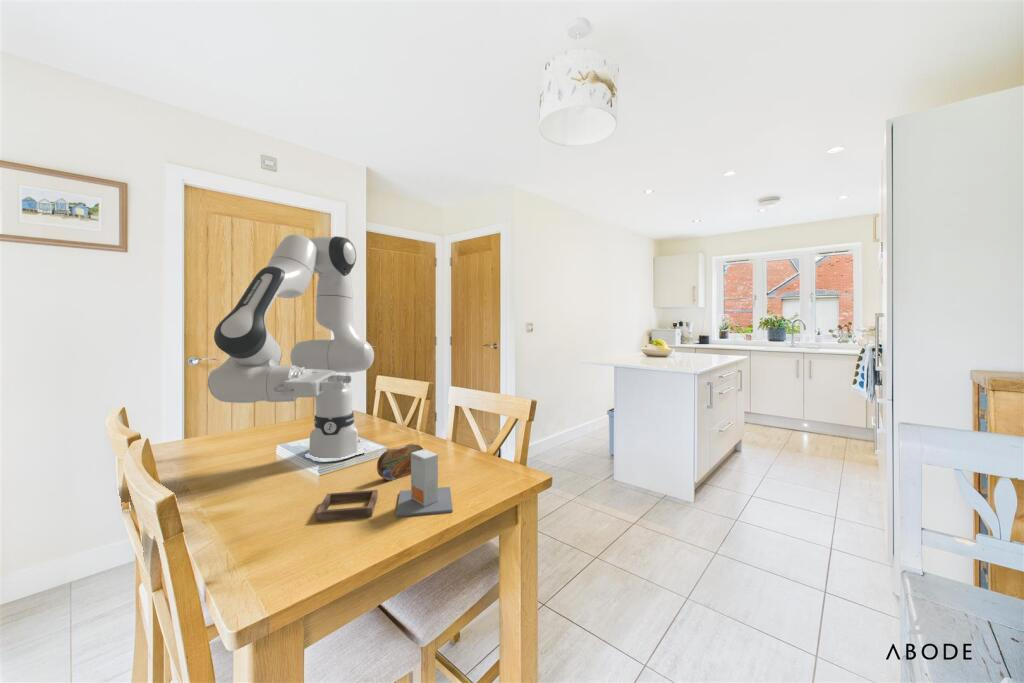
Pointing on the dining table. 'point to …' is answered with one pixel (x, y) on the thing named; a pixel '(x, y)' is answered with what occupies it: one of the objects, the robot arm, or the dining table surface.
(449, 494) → the slate mat
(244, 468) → the dining table surface
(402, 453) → the tin
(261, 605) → the dining table surface
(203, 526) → the dining table surface
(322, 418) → the robot arm
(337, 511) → the walnut collar
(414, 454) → the skincare box
